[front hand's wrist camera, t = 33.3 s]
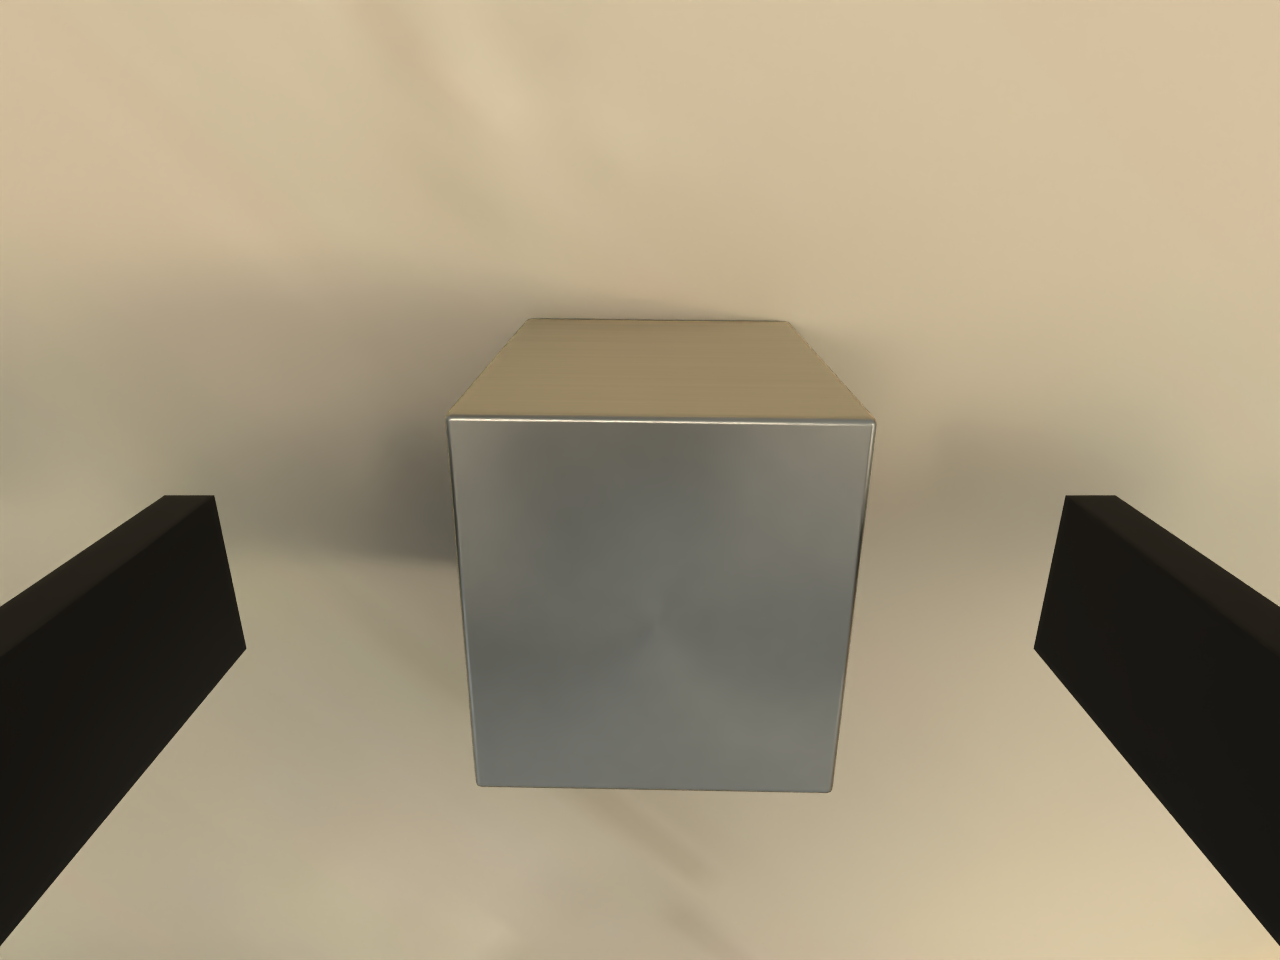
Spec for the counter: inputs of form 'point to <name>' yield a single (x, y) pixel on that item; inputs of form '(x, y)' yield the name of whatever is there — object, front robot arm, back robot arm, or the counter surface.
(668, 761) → the metal block
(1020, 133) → the counter surface
